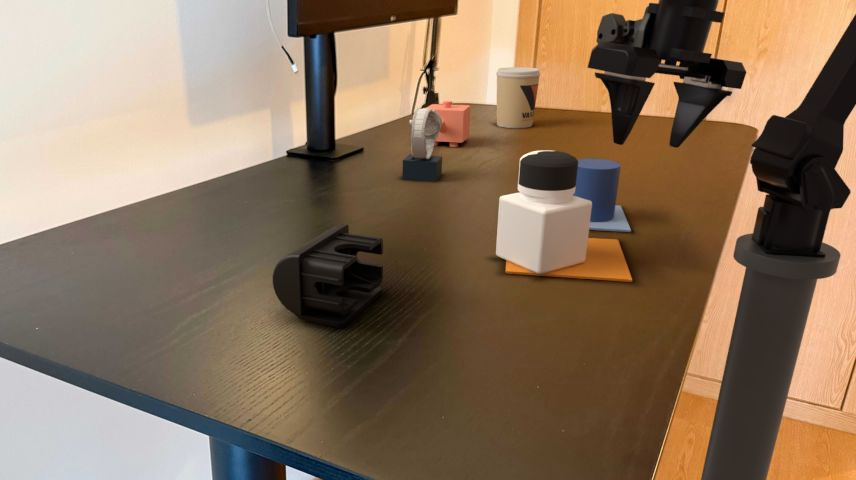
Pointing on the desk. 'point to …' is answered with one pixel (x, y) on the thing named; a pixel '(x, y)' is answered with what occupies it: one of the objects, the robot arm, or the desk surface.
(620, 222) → the blue mat
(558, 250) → the medicine bottle
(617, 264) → the amber mat
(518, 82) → the coffee cup
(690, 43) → the robot arm
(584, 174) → the blue cylinder
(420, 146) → the watch
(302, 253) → the end cap
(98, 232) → the desk surface
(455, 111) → the pink cube teapot
